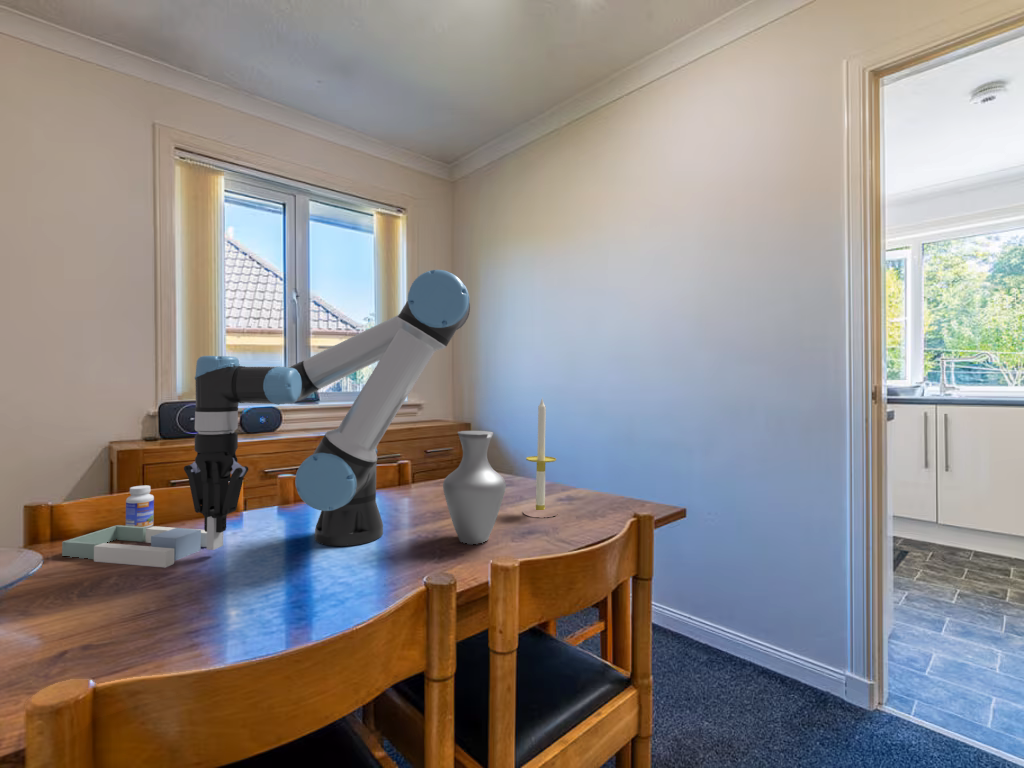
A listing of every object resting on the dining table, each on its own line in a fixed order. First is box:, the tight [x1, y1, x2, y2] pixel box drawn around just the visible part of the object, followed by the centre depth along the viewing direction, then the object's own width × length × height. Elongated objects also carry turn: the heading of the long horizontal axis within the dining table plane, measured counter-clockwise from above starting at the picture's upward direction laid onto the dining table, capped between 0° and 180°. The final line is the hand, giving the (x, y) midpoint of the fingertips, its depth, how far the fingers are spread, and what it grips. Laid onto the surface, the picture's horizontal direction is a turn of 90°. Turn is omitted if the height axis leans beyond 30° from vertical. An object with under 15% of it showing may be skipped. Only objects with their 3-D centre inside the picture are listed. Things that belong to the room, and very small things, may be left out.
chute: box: [93, 525, 207, 569], centre depth 102 cm, size 16×14×3 cm
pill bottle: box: [125, 484, 155, 529], centre depth 119 cm, size 5×5×10 cm
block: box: [150, 527, 202, 562], centre depth 101 cm, size 6×6×4 cm
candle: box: [525, 398, 557, 510], centre depth 137 cm, size 10×10×32 cm
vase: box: [442, 430, 507, 545], centre depth 113 cm, size 14×14×25 cm
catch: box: [61, 524, 147, 560], centre depth 104 cm, size 8×12×3 cm, turn 171°
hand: (215, 547), depth 100 cm, fingers closed
